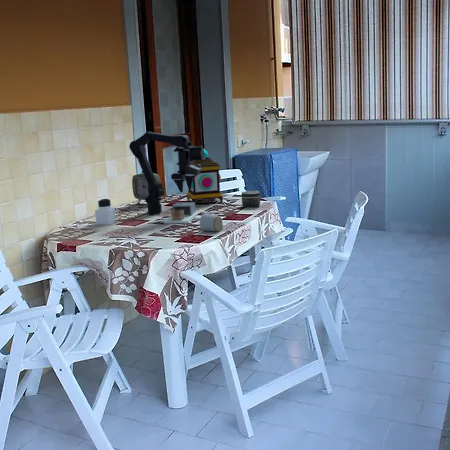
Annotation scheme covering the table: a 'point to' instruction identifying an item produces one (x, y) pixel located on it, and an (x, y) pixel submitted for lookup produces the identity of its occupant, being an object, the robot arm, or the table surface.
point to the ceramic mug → (210, 222)
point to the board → (186, 220)
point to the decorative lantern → (206, 180)
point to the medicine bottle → (105, 213)
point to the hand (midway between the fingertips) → (185, 190)
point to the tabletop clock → (141, 186)
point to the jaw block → (177, 215)
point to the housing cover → (185, 207)
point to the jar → (250, 199)
